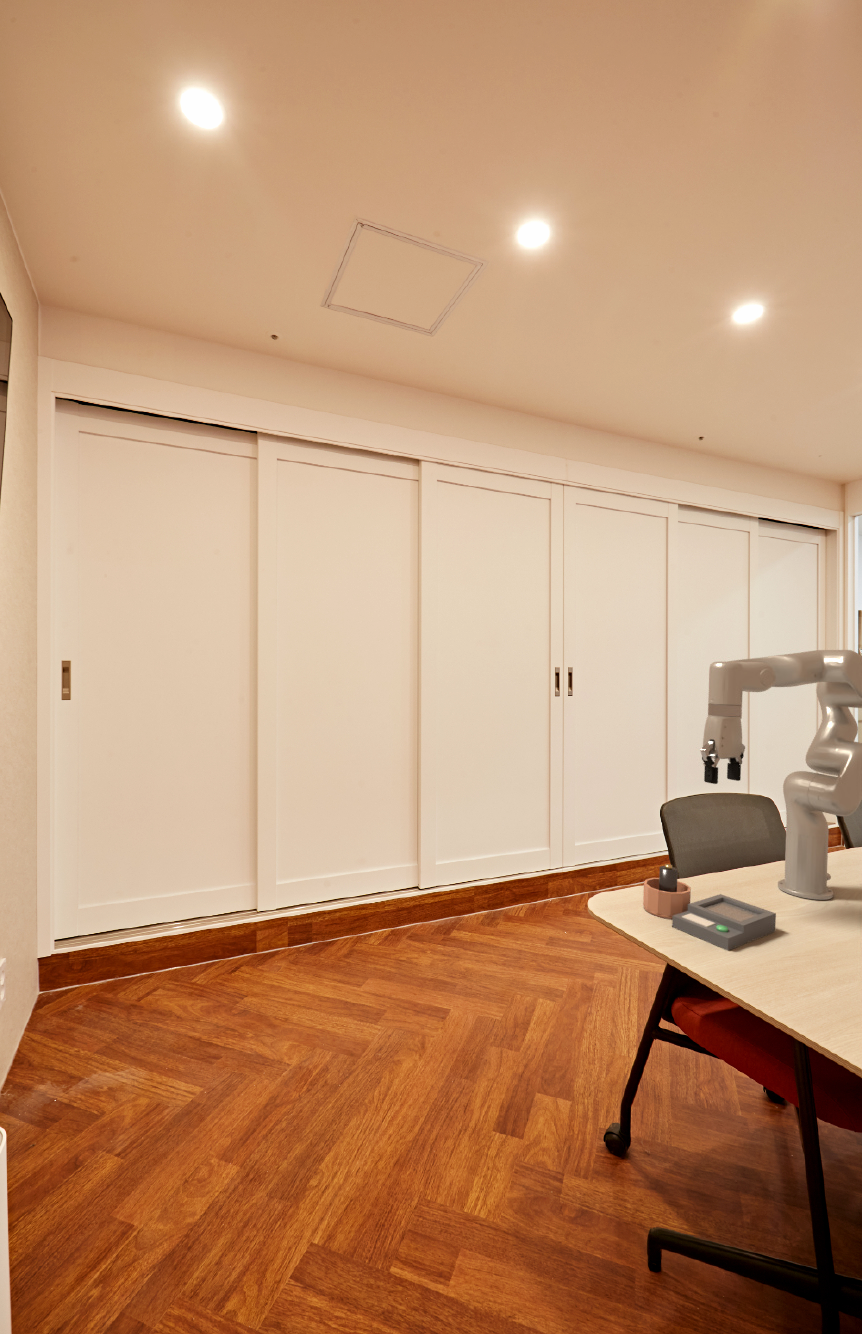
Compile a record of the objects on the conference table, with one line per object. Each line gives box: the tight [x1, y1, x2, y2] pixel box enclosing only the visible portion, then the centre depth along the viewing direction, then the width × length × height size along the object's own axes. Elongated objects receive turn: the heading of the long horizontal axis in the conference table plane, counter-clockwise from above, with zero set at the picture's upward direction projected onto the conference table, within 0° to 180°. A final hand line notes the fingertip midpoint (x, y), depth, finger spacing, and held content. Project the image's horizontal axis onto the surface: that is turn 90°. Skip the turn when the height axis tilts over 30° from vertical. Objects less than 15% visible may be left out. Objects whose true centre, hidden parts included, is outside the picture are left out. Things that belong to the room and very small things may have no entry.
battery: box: [658, 863, 679, 892], centre depth 146 cm, size 4×4×10 cm
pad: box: [705, 902, 759, 921], centre depth 138 cm, size 9×9×1 cm
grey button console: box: [671, 893, 777, 951], centre depth 136 cm, size 18×13×4 cm
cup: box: [642, 877, 692, 920], centre depth 146 cm, size 10×10×6 cm
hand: (722, 781), depth 151 cm, fingers open, 9 cm apart
